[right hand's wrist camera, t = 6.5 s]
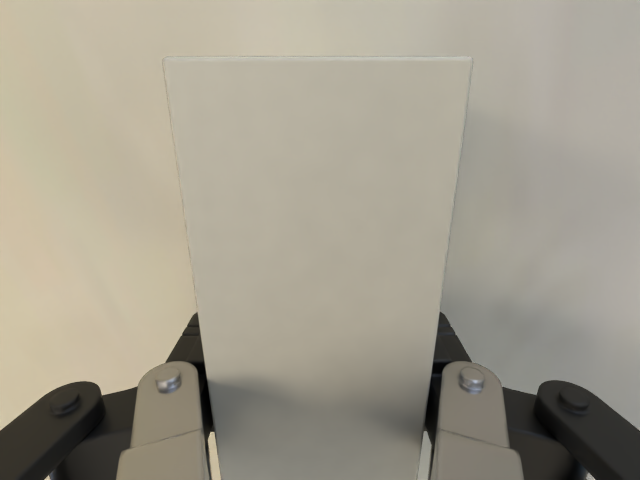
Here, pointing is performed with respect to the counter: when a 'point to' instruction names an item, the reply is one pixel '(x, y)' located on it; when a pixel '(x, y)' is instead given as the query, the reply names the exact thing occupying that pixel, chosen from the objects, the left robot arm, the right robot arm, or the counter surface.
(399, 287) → the beam
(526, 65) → the counter surface
